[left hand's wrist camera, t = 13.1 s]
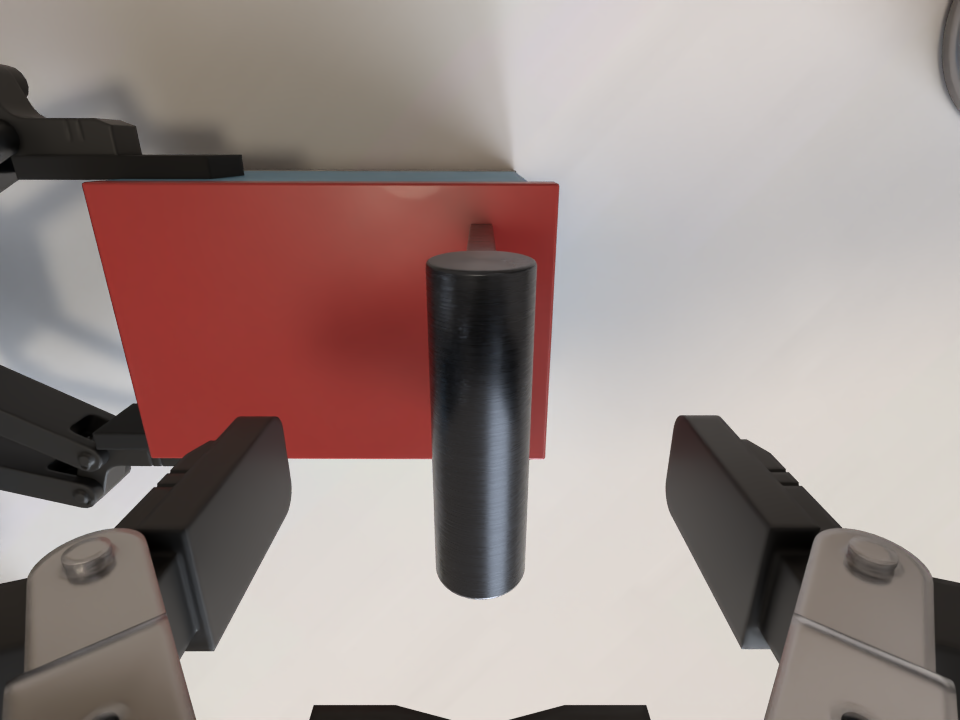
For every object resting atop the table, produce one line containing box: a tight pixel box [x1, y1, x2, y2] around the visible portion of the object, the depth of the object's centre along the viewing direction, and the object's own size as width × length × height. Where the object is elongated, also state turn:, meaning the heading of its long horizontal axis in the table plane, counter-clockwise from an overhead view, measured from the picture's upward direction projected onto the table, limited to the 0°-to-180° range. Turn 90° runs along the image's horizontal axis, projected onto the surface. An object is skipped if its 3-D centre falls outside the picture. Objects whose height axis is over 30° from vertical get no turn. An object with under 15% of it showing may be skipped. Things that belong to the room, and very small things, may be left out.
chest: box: [106, 170, 528, 182], centre depth 23 cm, size 14×10×9 cm
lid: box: [82, 181, 559, 600], centre depth 15 cm, size 14×10×9 cm
